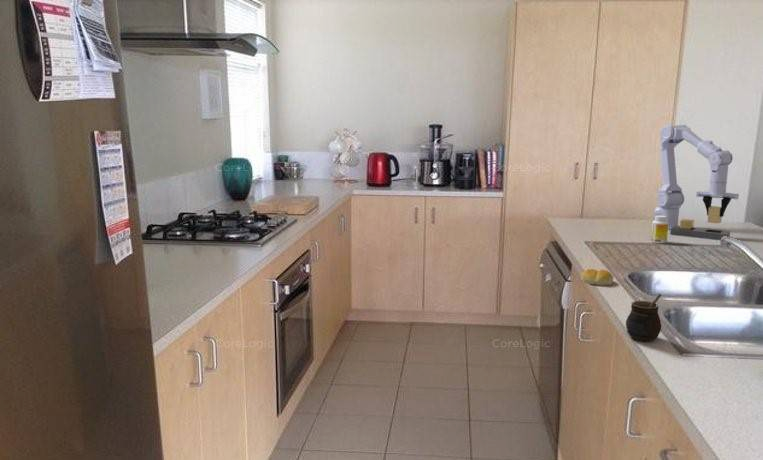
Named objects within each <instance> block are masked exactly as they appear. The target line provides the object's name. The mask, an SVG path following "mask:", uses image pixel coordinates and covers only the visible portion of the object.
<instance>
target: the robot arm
mask: <svg viewBox="0 0 763 460" xmlns="http://www.w3.org/2000/svg"><path fill="white" fill-rule="evenodd" d="M659 138H660V139H659V140H660V142H659V153H660V165H661V176H662V177H661V178H662V186H661V187H660V188H658V190H657V191H658V192H657V193H658V194H657V198H656V200H657V201H656V202H657V204H658V206H656V207H655V209H654V211H653V221H655V216H666V221H667V222H668V229H669V230H671V228H673V227H675V226H679V216H680V208H682V207H681V206H682V205H683V204H684V203H685V195H684V194H683V188H682V187H681V186H679V185H678V181H677V178H678V177H677V170H676V169H677V167H676V157H675V155H676V154H675V148H676V147H677V145H679V144H680V143H681V142H683V141H686V142H687V143H689V144H691V145H692V146H693V147H695V148H697V153H699V154H700V155H702V156H703V157H704V158H705V159H707V161H708V164H709V169H710V178H709V190H708V191H700V190H699V191H696V195H695V196H696V197H697V198H700V197H702V201H703V204H704V205H705V210H706V216H707V217H708V211H709V207H711V206H712V201H713V198H716V199H721V204H720V205H721V206H720V207H721V213H720V217H722V218H724V216H725V215H724V214H725V211H726V209H727V207H728V206H729V204H730V203H731V201H732V200H739V197H740V195H739V193H732V192H731V193H730V192H727V183H728V173H729V165H730V164H731V163H732V162H733V154H732V153H731V152H730V150H722V148H721V147H720V146H717V145H715V144H714V141H712V140H703V139H702V138H701V137H699V136H698V135H697V134H696V133H695V132H694V131H692V129H691V127H689V126H687V125H686V124H677V125H676V124H675V125H669V124H668V125H667V124H666V125H664V126H663V127H662V128H661V130H660V131H659Z"/></svg>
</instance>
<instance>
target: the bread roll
mask: <svg viewBox="0 0 763 460" xmlns="http://www.w3.org/2000/svg"><path fill="white" fill-rule="evenodd" d="M580 277H581V281H582V282H583V283H585V284H588V285H593V286H594V285H597V286H610V285H611V284H613V281H614V275H613V274H612V273H611V272H610V271H608V270H607V269H600V270H597V269H594V268H589V269H585V270H584V271H582V273H581V275H580Z"/></svg>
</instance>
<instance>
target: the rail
mask: <svg viewBox="0 0 763 460" xmlns="http://www.w3.org/2000/svg"><path fill="white" fill-rule="evenodd" d="M669 235H671V236H682V237H689V238H699V239H706V240H707V239H708V240H717V241H722V240H721V238H722V237H723V236H727V237H729V238H730V237H731V236H730V235H731V230H723V229H722V230H721V229H711V228H702V227H695V226H693V230H685V229H680V225H678V226H675V227H673V228H671V229H670V233H669Z"/></svg>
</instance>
